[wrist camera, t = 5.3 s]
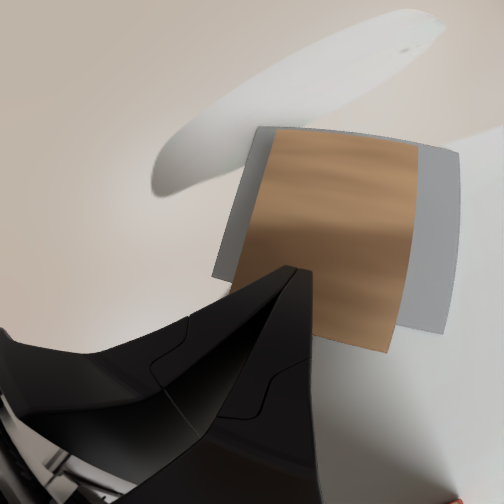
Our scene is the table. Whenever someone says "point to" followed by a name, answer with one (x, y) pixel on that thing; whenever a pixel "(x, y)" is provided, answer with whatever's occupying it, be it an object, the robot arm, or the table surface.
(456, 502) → the cracker box
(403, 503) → the table surface
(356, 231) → the walnut block
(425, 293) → the mat
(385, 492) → the table surface
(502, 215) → the table surface
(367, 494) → the table surface
